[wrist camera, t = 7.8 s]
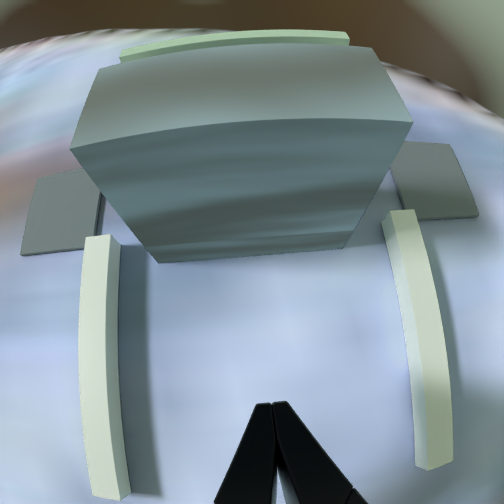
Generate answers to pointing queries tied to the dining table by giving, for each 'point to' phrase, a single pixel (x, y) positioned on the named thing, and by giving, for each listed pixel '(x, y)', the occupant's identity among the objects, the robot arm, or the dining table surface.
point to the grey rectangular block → (242, 146)
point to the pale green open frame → (106, 313)
